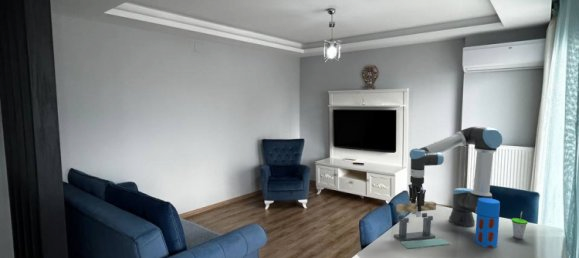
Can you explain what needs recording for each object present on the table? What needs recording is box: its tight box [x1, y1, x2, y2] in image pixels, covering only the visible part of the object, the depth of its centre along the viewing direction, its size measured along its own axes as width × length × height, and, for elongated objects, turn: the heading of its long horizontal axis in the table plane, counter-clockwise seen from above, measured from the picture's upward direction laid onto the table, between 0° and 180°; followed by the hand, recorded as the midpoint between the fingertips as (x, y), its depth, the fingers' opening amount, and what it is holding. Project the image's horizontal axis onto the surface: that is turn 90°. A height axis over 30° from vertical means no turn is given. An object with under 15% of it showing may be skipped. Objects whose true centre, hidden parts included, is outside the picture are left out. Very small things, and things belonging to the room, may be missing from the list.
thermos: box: [475, 198, 501, 248], centre depth 181 cm, size 11×11×25 cm
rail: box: [395, 200, 437, 214], centre depth 188 cm, size 24×4×4 cm, turn 103°
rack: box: [393, 212, 436, 242], centre depth 189 cm, size 23×7×13 cm, turn 103°
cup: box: [511, 211, 528, 240], centre depth 190 cm, size 8×8×15 cm
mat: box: [400, 237, 450, 250], centre depth 180 cm, size 26×7×1 cm, turn 103°
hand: (416, 215), depth 188 cm, fingers closed on rail, 3 cm apart
